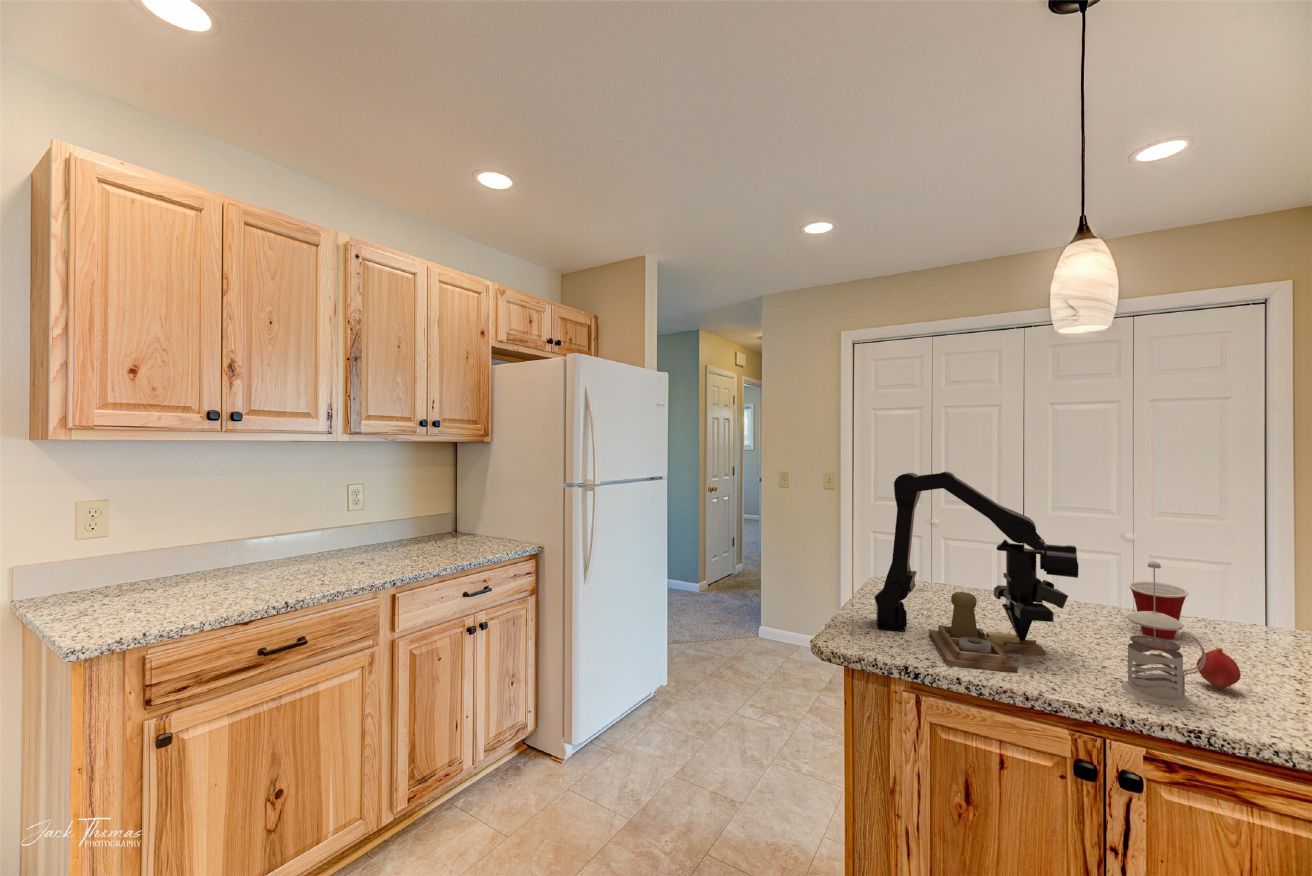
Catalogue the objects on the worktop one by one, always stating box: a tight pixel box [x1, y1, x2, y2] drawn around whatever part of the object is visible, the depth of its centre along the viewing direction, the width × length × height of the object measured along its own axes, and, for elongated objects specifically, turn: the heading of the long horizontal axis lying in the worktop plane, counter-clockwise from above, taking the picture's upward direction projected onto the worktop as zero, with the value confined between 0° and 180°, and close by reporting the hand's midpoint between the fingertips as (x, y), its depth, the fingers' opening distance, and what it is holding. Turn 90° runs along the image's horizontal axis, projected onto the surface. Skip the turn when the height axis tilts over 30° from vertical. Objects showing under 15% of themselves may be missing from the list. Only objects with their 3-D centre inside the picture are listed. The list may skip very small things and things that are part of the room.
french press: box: [1120, 560, 1206, 707], centre depth 102 cm, size 10×12×25 cm
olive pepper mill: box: [950, 591, 978, 638], centre depth 126 cm, size 6×6×11 cm
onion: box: [1196, 647, 1242, 690], centre depth 104 cm, size 6×6×8 cm
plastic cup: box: [1128, 580, 1189, 641], centre depth 132 cm, size 11×11×12 cm
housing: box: [928, 624, 1046, 674], centre depth 121 cm, size 22×19×4 cm
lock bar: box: [985, 631, 1019, 645], centre depth 124 cm, size 6×2×2 cm, turn 74°
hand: (1021, 639), depth 123 cm, fingers closed, pressing on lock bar
